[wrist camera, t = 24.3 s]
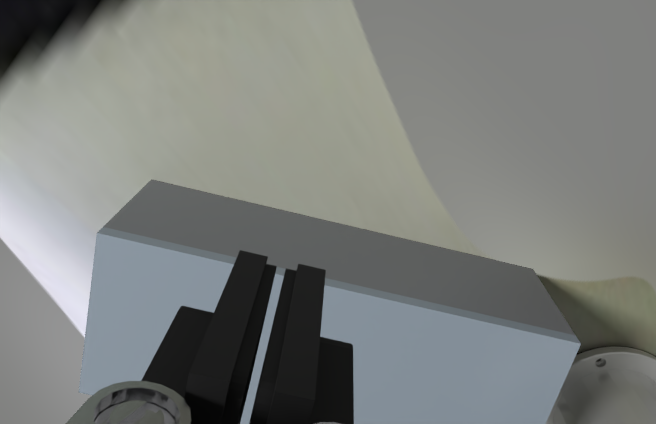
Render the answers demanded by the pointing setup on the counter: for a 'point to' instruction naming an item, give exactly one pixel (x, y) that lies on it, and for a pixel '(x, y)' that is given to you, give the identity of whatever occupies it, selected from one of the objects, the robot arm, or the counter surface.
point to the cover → (338, 324)
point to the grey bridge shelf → (340, 253)
